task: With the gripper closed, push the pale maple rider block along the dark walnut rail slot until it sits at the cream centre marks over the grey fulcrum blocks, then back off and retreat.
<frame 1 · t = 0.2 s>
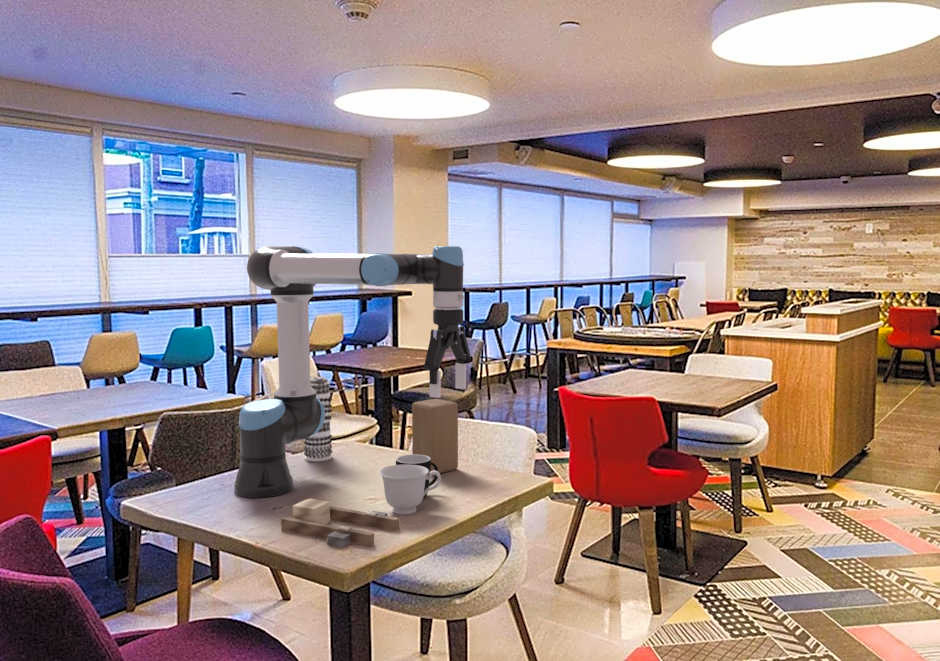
hand: (448, 392, 191), 28 cm above the table, fingers open, 13 cm apart
teacup: (410, 511, 186), on the table
block: (435, 470, 222), on the table
beam slot: (340, 529, 173), on the table
rider: (311, 524, 177), on the table
mug: (418, 496, 197), on the table
decorative candle: (318, 458, 236), on the table
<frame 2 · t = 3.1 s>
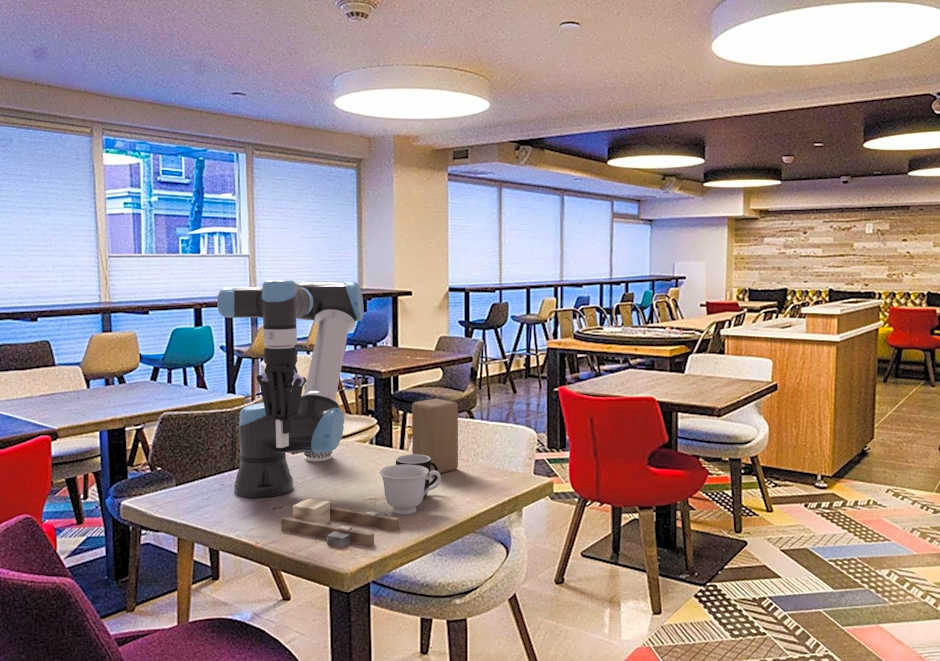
hand: (282, 446, 178), 17 cm above the table, fingers closed
nothing on the table moved.
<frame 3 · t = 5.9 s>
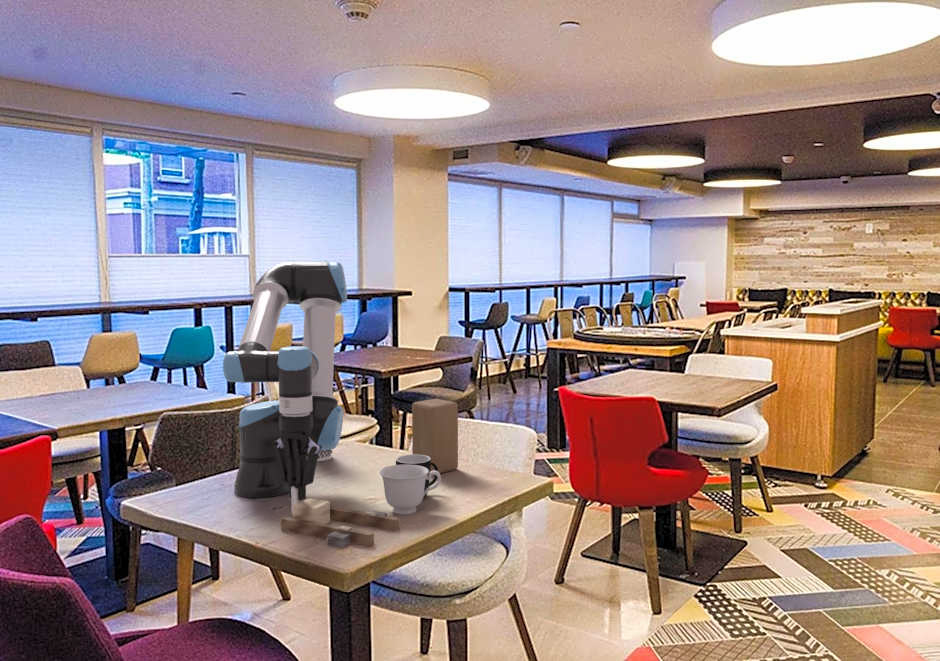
hand: (297, 513, 178), 2 cm above the table, fingers closed
rider: (311, 524, 177), on the table, touching gripper
everything else where it was.
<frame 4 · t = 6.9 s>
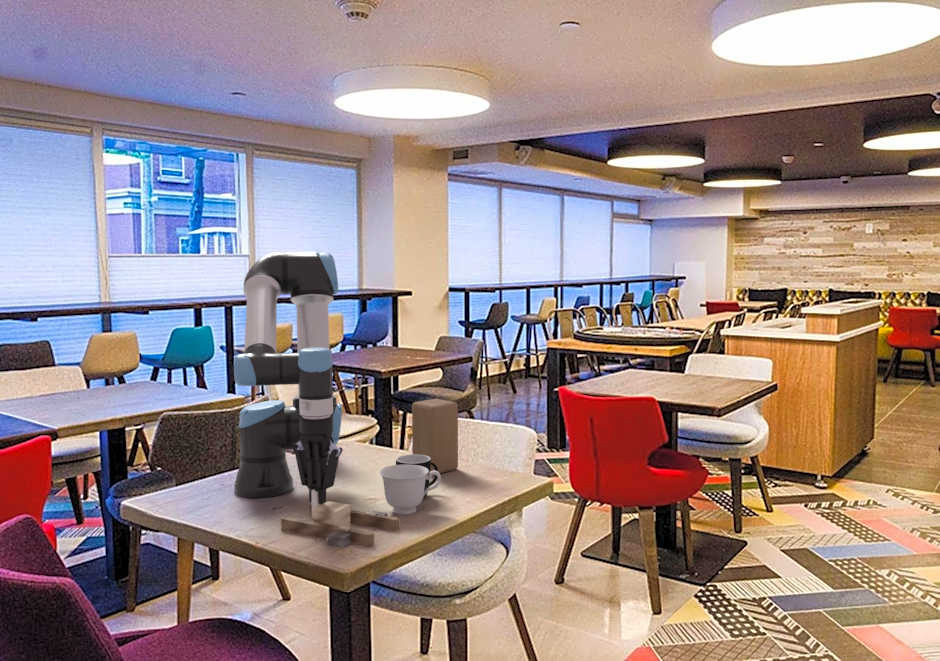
hand: (318, 516, 175), 2 cm above the table, fingers closed
rider: (332, 527, 174), on the table, touching gripper
everything else where it was.
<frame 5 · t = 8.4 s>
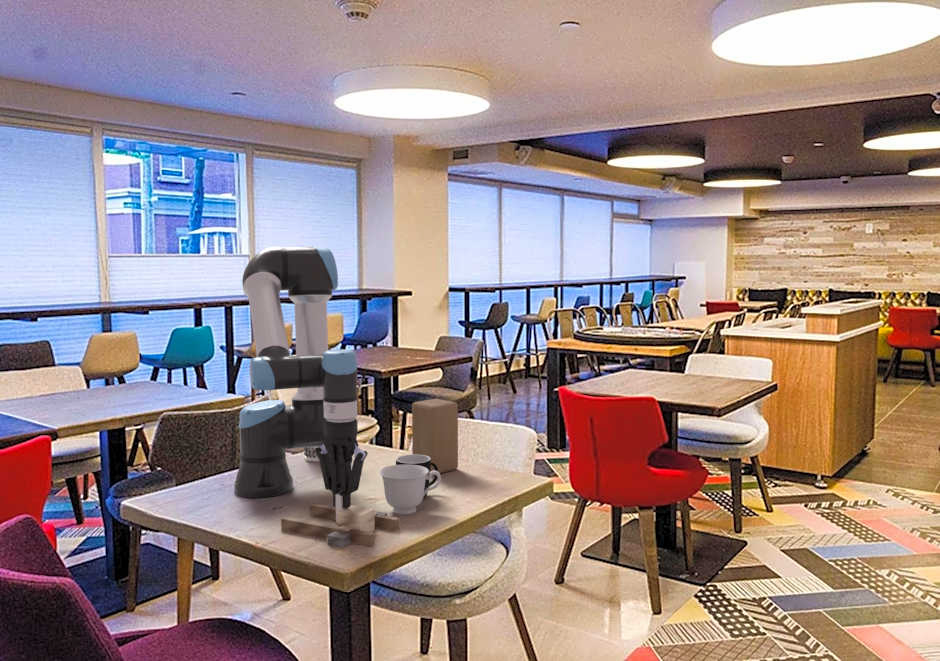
hand: (342, 521, 173), 2 cm above the table, fingers closed
rider: (356, 532, 171), on the table
everything else where it was.
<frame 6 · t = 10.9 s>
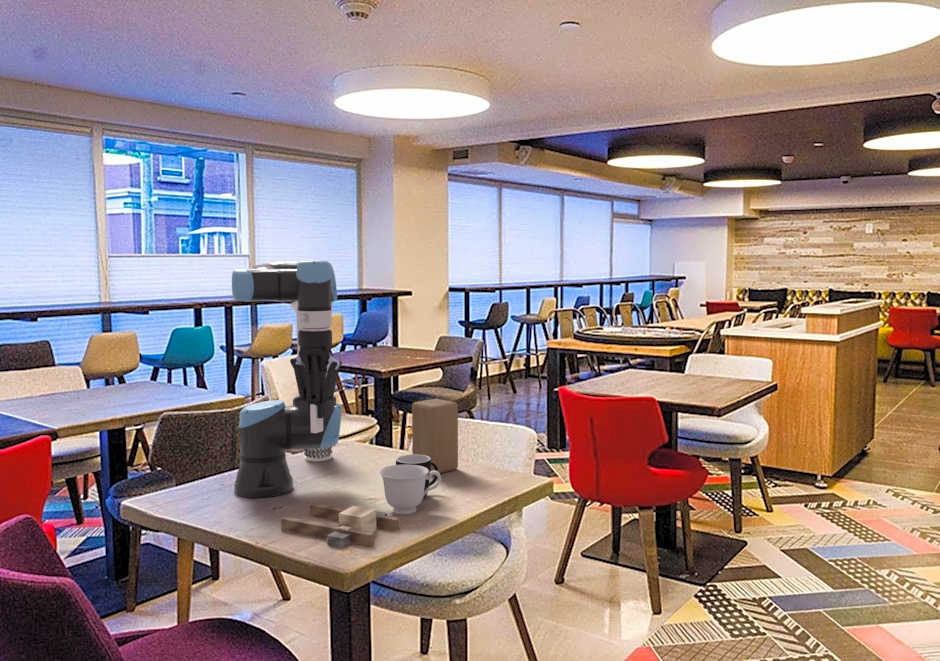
hand: (317, 431, 174), 22 cm above the table, fingers closed
nothing on the table moved.
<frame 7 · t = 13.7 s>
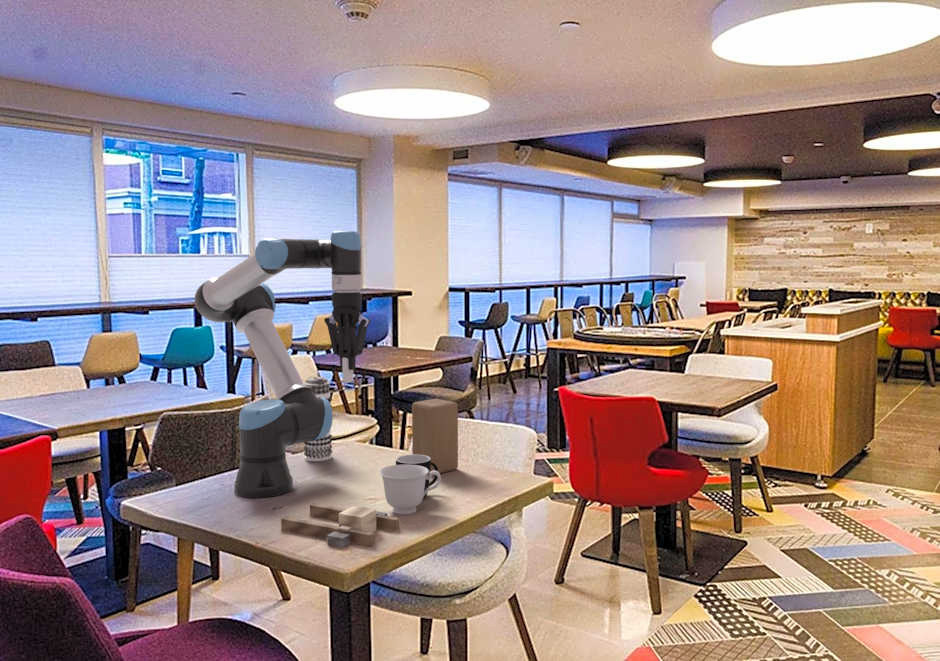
hand: (348, 381, 198), 29 cm above the table, fingers closed
nothing on the table moved.
at the end: rider inside the target area (0.7 cm from its centre), on the table; rider tilted 0° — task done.
